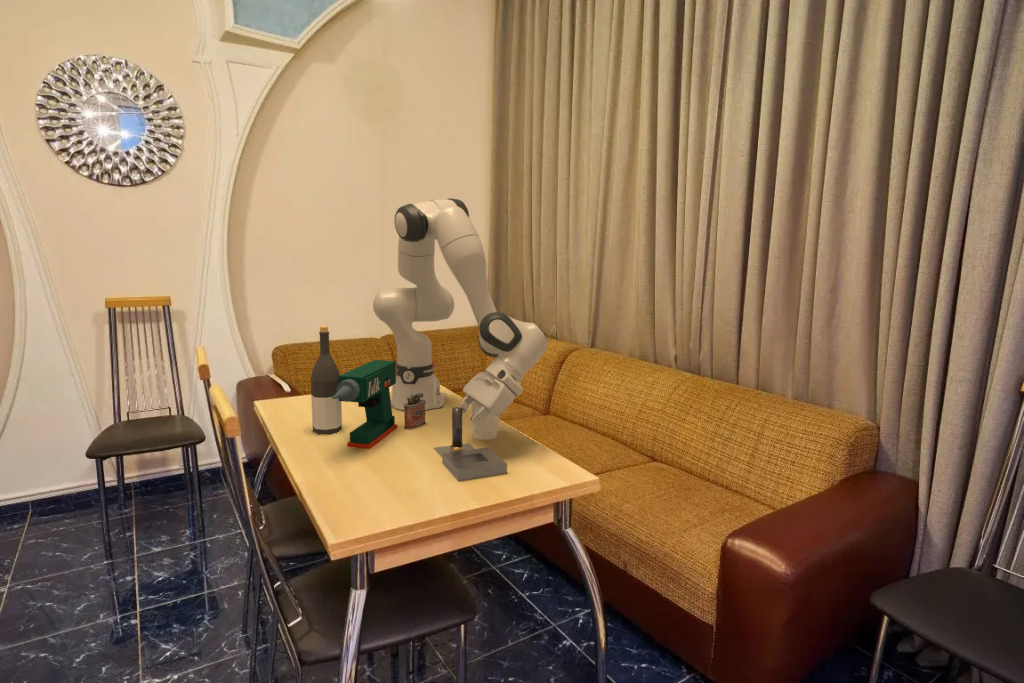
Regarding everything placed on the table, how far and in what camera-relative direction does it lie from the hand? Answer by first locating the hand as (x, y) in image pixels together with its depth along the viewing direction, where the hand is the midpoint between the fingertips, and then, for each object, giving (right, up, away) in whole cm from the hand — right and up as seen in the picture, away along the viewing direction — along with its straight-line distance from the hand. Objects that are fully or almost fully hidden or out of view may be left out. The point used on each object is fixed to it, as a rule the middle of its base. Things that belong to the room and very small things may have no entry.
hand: (466, 416), depth 152 cm
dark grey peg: (-2, -9, +1) cm, 9 cm away
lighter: (-17, -6, +21) cm, 28 cm away
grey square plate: (-2, -10, +1) cm, 10 cm away
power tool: (-28, -9, +6) cm, 30 cm away
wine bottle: (-41, -6, +17) cm, 45 cm away
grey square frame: (+3, -12, -10) cm, 16 cm away
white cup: (+4, -8, +14) cm, 16 cm away
